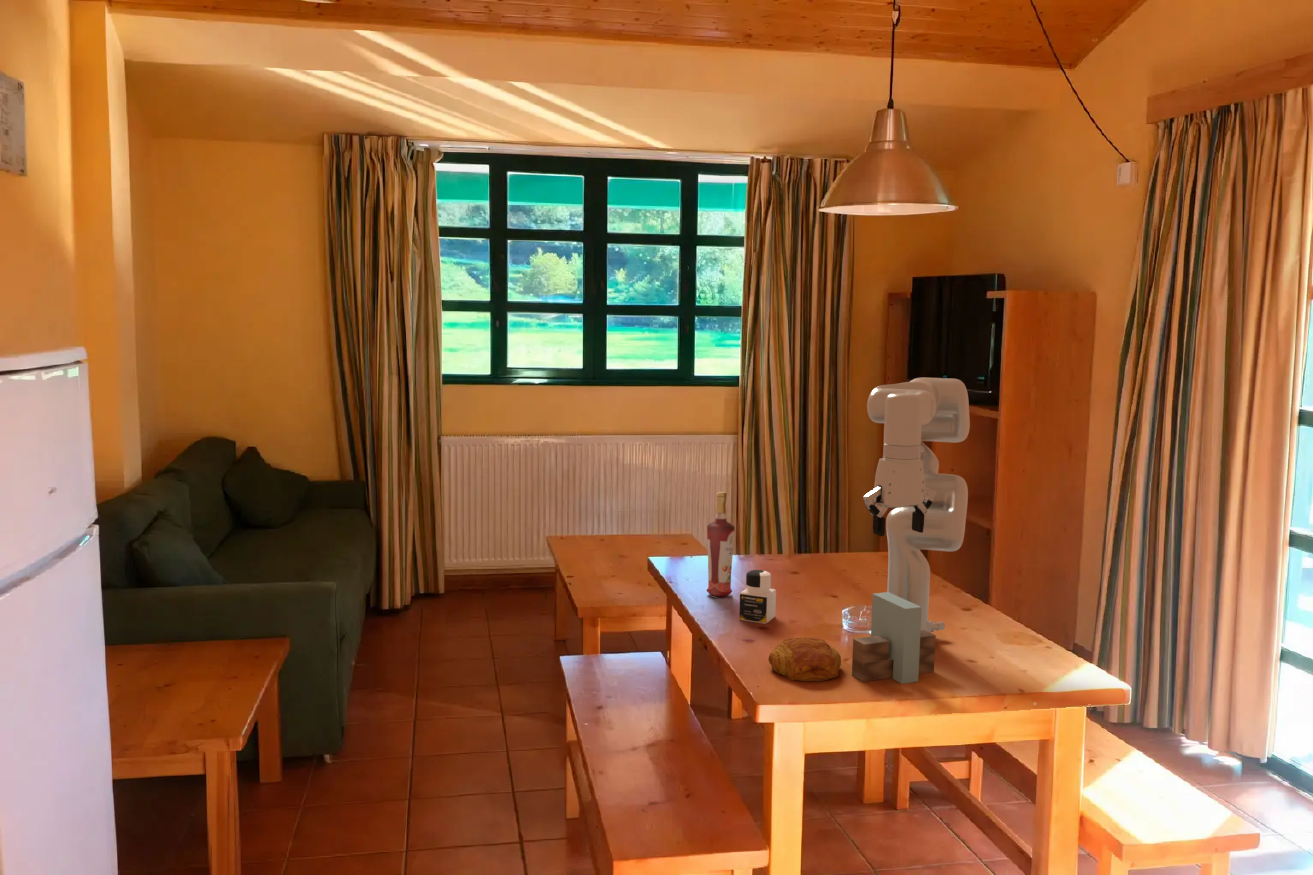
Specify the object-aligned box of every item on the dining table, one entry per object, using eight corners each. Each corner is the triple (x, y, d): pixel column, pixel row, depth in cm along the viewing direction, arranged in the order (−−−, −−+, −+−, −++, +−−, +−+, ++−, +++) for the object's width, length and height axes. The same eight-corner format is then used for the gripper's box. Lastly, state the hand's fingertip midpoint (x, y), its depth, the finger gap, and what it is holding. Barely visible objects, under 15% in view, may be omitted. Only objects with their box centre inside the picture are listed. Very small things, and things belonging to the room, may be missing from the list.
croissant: (766, 670, 232) (762, 635, 231) (836, 660, 233) (832, 625, 232) (777, 692, 218) (773, 655, 217) (851, 681, 218) (847, 644, 217)
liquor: (725, 600, 278) (727, 496, 274) (700, 596, 281) (702, 493, 278) (737, 594, 284) (740, 491, 280) (713, 590, 288) (715, 489, 284)
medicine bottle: (738, 620, 261) (739, 572, 259) (748, 612, 267) (750, 566, 266) (766, 624, 258) (767, 576, 256) (775, 616, 264) (777, 570, 263)
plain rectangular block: (869, 665, 229) (872, 593, 227) (885, 663, 231) (888, 592, 229) (901, 683, 218) (905, 608, 216) (918, 681, 220) (921, 606, 218)
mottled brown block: (922, 665, 230) (924, 629, 229) (933, 671, 226) (935, 635, 225) (851, 675, 223) (853, 638, 222) (862, 681, 219) (863, 644, 218)
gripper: (924, 448, 226) (921, 526, 228) (856, 452, 219) (853, 532, 222) (947, 453, 219) (943, 533, 221) (876, 457, 213) (873, 540, 215)
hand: (898, 533), depth 222 cm, fingers open, 9 cm apart
